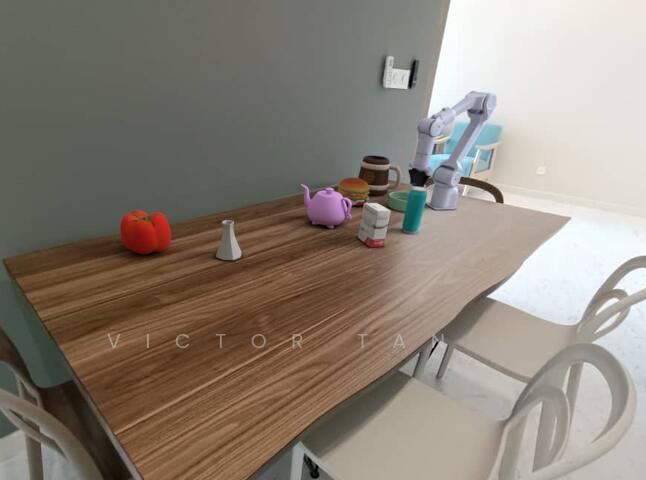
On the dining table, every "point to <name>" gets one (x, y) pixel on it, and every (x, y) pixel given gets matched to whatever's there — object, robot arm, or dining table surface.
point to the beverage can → (414, 209)
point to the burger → (354, 190)
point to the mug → (378, 174)
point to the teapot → (327, 207)
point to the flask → (228, 243)
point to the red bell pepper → (145, 232)
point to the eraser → (411, 186)
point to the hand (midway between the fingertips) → (415, 189)
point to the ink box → (374, 224)
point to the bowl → (398, 201)
